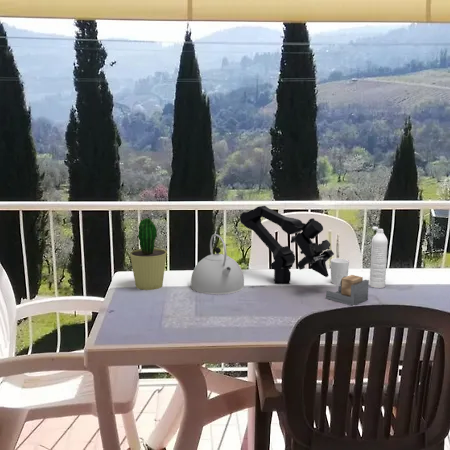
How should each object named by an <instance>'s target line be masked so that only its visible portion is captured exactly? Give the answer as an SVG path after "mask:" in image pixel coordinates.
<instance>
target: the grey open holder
mask: <svg viewBox="0 0 450 450" xmlns="http://www.w3.org/2000/svg"><path fill="white" fill-rule="evenodd" d="M369 282H370V279H369V280H368V279H363V281H360V282H358V283H355V284H353V285H351V296H347V295H343V294H341V289H342V288H341V285H338V287H337V288H338V289H337V290H338V291H332V290H326V291H325V299H327V300H331V301H334V302H338V303H340V304H341V303H342V304H345V305H349V306H352V305H355V306H356V305H359V304H361V303H363V302H366V301H368V299H369V287H370V285H369Z"/></svg>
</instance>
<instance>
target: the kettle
mask: <svg viewBox="0 0 450 450" xmlns="http://www.w3.org/2000/svg"><path fill="white" fill-rule="evenodd" d="M215 237H216V238H219V239H220V241H221V242H222V245H223V252H224V253H223V254H222V253H221V251H222V249H221V247H219V246H217V247H215V248H214V253H213V240H214V238H215ZM209 251H210V254H208V255H206V256H205V257H203V258H202V259H201V260H199V261H198V263H196V265H195V267H194V268H193V271H192V273H191V280H190V282H191V283H190V288H191V289H192V291H194V292H197V293H200V294H205V295H217V296H218V295H221V296H222V295H230V294H235V293H239V292H240V291H242V290H244V289H245V276H244V272H243V270H242V268H241V266H240V265H239V263H238V262H237V261H236V260H235V259H234V258H232V257H230V256H229V255H227V247H226V242H225V241H224V239H223V237H221V236H220V234H217V233H214V234H212V235H211V238H210V241H209Z"/></svg>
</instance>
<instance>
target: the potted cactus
mask: <svg viewBox="0 0 450 450" xmlns="http://www.w3.org/2000/svg"><path fill="white" fill-rule="evenodd" d="M153 220H154V219H152V218H151V217H150V218H149V217H142V220H140V221H138V227H137V228H138V231H137V232H138V233H137V241H138V242H139V243H138V246H139V248H138V249H135V250H132V251H130V253H129V255H130V261H131V267H132V272H133V277H134V278H133V279H134V284H135V287H136V288H137V289H138V290H141V291H153V290H159V289H161V288H162V287H163V285H164V284H163V283H164V277H165V276H164V275H165V269H166V261H167V253H168V251H167V250H165V249H163V248H155V246H156V245H157V238H158V236H159V234H160V232H159V231H158V227H157V226H156V224H155V223H154V221H153Z"/></svg>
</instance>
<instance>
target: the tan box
mask: <svg viewBox="0 0 450 450" xmlns="http://www.w3.org/2000/svg"><path fill="white" fill-rule="evenodd" d="M363 280H364V278H363V276H359V275H354V274H350V275H348V276H347V277H346V276H344V277H343V278H342V279H341V283H340V285H339V286H341V288H342V289H341V294H343V295H347V296H351V285H353V284H355V283H358V282H360V281H363Z"/></svg>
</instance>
